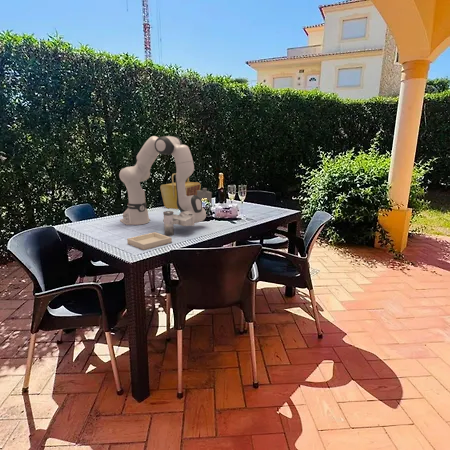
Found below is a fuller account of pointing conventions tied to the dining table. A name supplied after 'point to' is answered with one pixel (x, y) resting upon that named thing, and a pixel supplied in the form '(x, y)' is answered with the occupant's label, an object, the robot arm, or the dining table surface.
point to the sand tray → (149, 240)
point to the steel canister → (168, 223)
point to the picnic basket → (171, 193)
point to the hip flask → (205, 194)
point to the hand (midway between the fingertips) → (167, 222)
